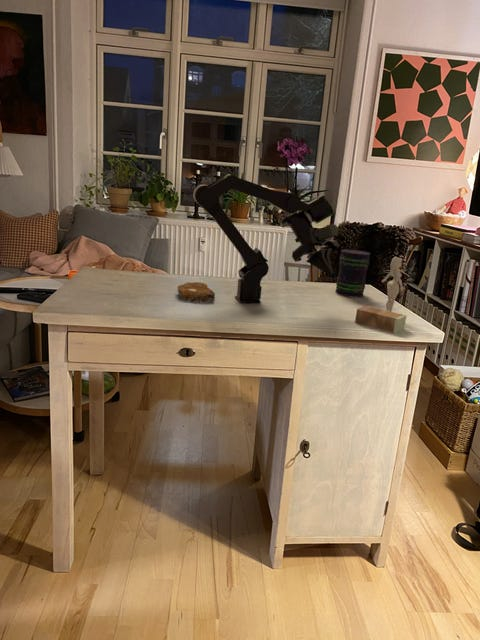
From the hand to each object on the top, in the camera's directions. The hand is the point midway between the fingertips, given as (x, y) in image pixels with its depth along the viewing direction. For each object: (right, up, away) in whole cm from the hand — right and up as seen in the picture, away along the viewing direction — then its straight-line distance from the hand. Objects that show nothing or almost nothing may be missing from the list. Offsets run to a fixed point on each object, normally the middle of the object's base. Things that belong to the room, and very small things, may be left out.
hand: (331, 274), depth 147 cm
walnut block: (+8, -12, -3) cm, 14 cm away
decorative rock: (-40, -7, +8) cm, 42 cm away
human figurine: (+18, -13, +4) cm, 22 cm away
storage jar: (+12, -4, +30) cm, 33 cm away
